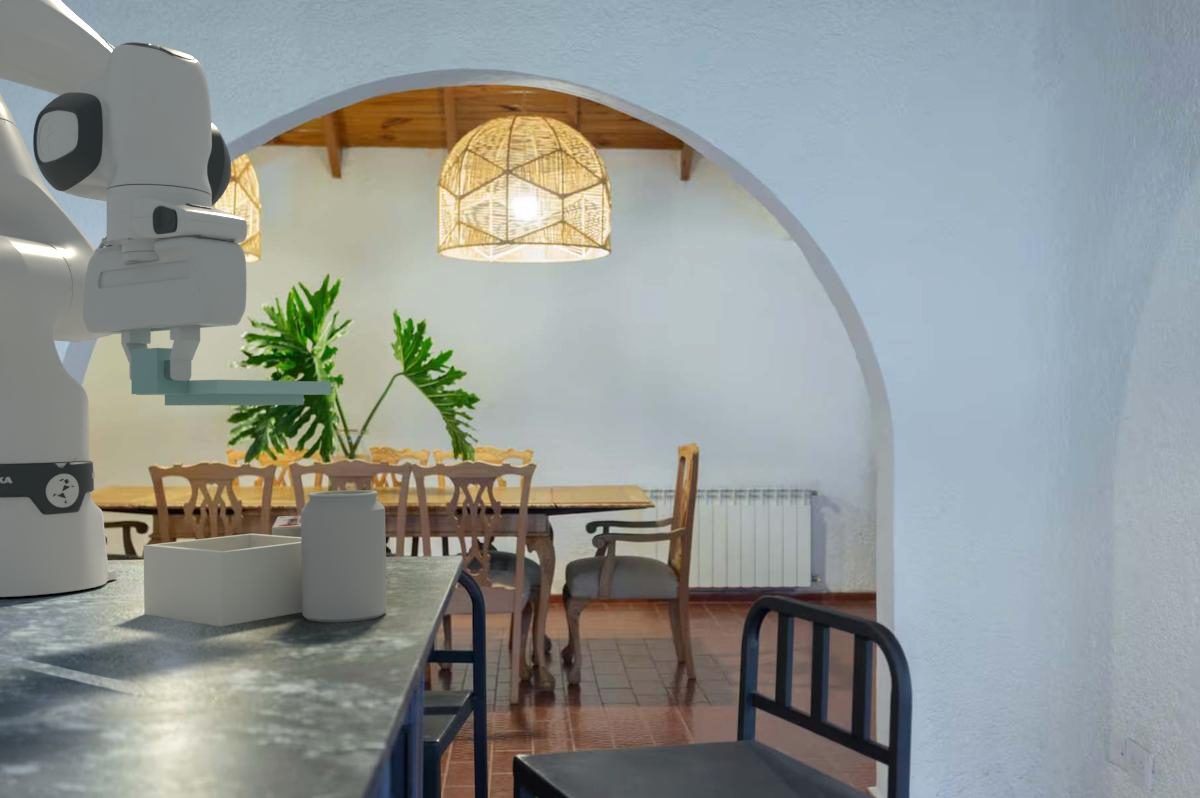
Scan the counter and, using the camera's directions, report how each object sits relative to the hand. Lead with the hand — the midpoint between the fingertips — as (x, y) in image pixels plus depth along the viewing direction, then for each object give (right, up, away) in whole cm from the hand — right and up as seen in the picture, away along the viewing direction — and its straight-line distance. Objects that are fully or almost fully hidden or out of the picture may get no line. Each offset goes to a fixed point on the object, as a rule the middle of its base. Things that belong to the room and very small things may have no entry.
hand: (160, 381), depth 104 cm
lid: (+4, -2, +5) cm, 7 cm away
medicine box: (+8, -23, +22) cm, 33 cm away
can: (+16, -22, +2) cm, 27 cm away
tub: (+5, -22, +6) cm, 23 cm away
